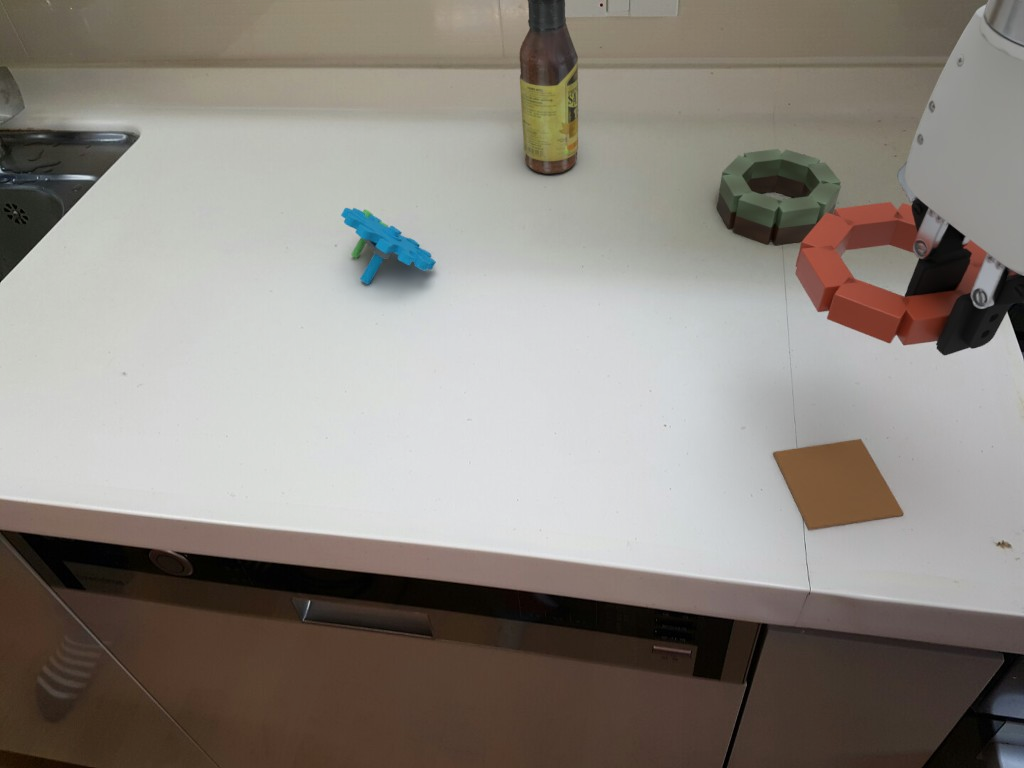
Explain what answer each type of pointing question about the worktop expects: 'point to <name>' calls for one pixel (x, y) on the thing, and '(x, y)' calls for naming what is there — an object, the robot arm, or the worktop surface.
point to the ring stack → (783, 175)
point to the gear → (383, 243)
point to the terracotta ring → (863, 301)
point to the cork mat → (836, 484)
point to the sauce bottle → (549, 89)
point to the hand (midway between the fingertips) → (942, 326)
